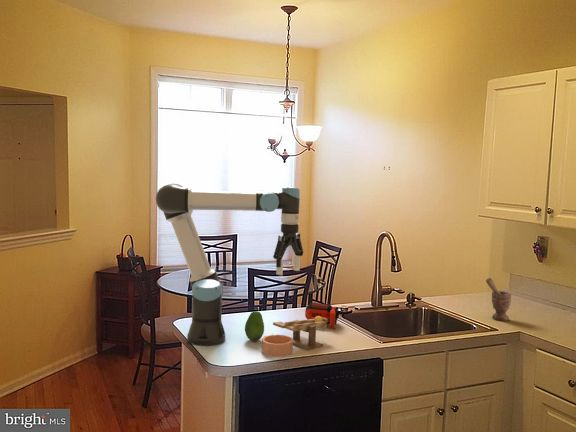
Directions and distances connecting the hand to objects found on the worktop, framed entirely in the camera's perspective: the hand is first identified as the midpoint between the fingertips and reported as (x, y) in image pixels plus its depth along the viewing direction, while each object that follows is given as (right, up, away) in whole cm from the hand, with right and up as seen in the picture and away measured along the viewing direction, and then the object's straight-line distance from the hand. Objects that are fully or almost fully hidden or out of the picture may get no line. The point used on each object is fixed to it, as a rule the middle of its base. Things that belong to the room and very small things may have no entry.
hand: (288, 272), depth 229 cm
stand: (+6, -27, -16) cm, 32 cm away
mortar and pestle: (+101, -26, +28) cm, 108 cm away
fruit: (-14, -26, -13) cm, 32 cm away
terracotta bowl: (-4, -27, -26) cm, 38 cm away
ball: (+12, -18, -12) cm, 25 cm away
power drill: (+15, -25, +12) cm, 32 cm away
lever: (+5, -21, -15) cm, 26 cm away
